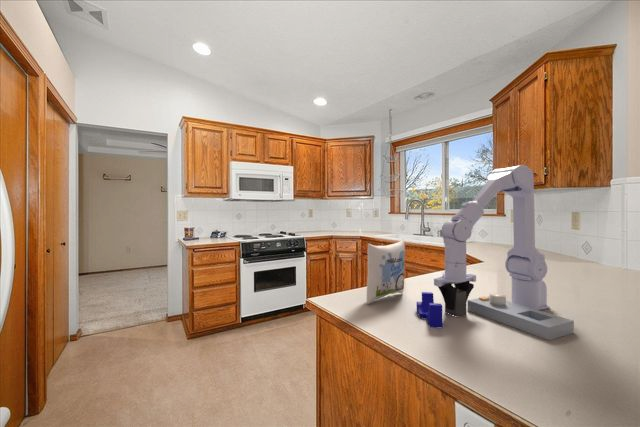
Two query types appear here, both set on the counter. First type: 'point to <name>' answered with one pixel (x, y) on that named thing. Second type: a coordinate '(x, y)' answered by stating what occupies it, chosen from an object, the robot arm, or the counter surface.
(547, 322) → the power strip
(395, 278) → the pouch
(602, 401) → the counter surface
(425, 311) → the cable clip
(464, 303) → the plug
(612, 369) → the counter surface
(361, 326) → the counter surface
